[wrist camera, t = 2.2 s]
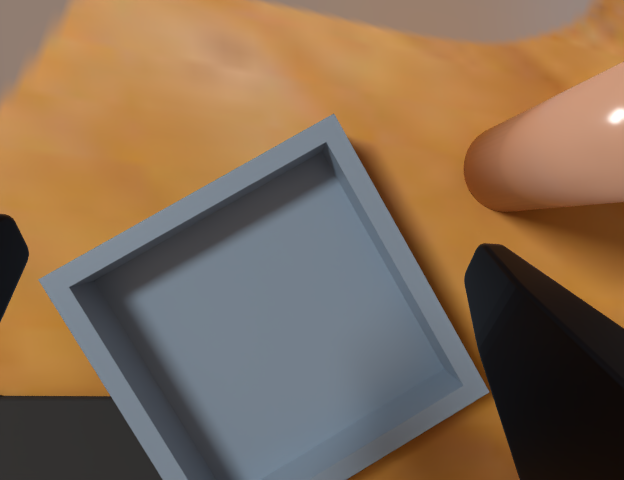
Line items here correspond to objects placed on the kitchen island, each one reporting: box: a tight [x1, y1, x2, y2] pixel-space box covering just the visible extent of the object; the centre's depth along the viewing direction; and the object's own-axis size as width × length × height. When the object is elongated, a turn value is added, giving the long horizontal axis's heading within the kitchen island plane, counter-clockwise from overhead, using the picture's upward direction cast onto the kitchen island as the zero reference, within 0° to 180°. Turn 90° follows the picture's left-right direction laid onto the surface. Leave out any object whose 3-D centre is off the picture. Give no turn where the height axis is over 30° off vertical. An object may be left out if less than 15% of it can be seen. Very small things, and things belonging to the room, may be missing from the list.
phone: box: [0, 395, 163, 480], centre depth 21 cm, size 7×1×15 cm
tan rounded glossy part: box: [464, 62, 624, 212], centre depth 18 cm, size 5×5×10 cm
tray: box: [39, 114, 489, 480], centre depth 20 cm, size 16×16×3 cm
